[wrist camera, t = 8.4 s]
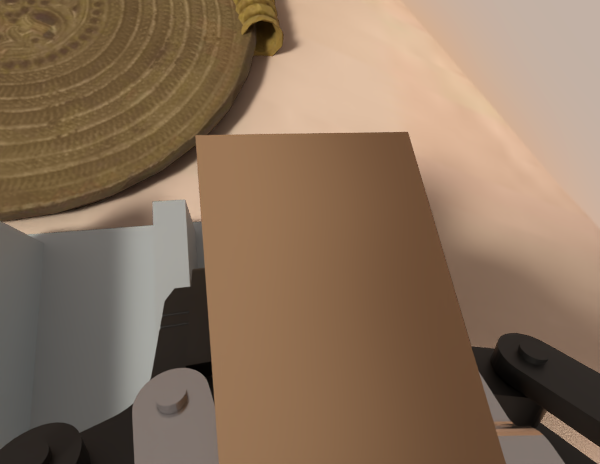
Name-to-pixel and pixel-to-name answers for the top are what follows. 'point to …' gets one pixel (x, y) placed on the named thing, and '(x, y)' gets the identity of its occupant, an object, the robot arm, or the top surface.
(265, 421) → the brown rectangular block
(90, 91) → the decorative disc
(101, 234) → the rack
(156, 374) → the robot arm
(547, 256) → the top surface
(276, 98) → the top surface
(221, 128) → the top surface
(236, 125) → the top surface
